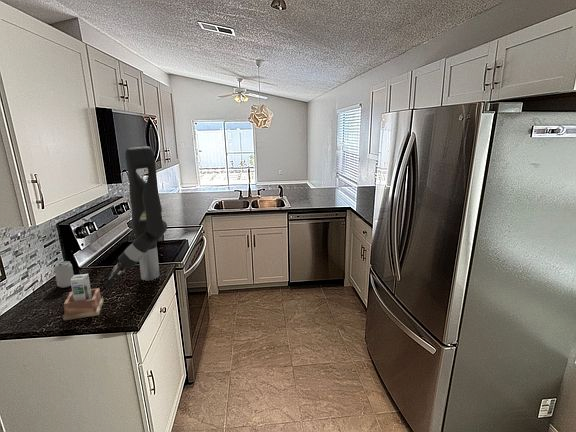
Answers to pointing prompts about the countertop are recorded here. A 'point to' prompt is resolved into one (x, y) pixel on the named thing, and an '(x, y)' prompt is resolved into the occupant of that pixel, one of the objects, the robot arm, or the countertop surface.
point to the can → (63, 273)
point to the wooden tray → (83, 306)
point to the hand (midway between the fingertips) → (106, 282)
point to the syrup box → (81, 287)
